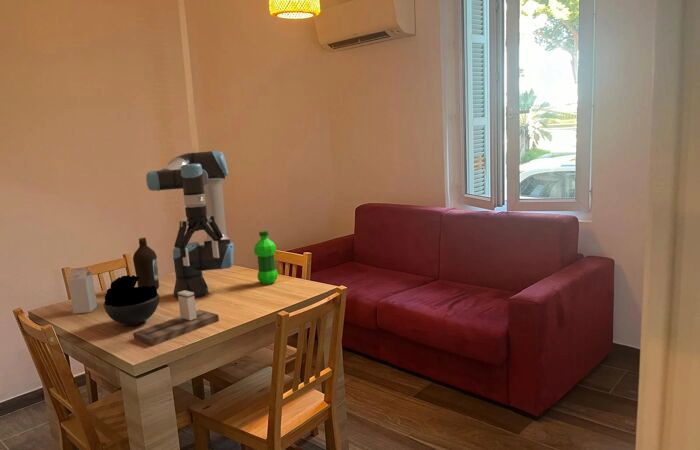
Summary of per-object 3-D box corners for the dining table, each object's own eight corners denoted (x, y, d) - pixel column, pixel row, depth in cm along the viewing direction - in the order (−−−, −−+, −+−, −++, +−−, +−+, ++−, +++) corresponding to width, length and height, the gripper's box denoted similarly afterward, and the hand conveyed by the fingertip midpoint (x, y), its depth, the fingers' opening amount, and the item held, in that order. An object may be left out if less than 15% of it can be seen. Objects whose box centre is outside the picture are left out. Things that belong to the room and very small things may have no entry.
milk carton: (80, 308, 225) (73, 266, 222) (97, 307, 225) (90, 265, 222) (73, 314, 218) (66, 270, 215) (90, 312, 218) (83, 269, 215)
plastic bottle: (261, 279, 253) (257, 229, 249) (282, 279, 251) (277, 229, 247) (254, 285, 244) (249, 233, 240) (275, 285, 242) (270, 233, 237)
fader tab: (189, 320, 191) (186, 294, 190) (180, 317, 195) (177, 292, 194) (197, 318, 194) (194, 292, 192) (187, 315, 198) (184, 290, 196)
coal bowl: (142, 311, 215) (136, 268, 212) (172, 319, 204) (166, 273, 200) (96, 327, 199) (89, 280, 196) (125, 336, 188) (118, 286, 184)
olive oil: (135, 293, 244) (128, 241, 240) (139, 287, 255) (132, 237, 250) (158, 290, 247) (152, 239, 242) (161, 284, 257) (155, 235, 253)
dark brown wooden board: (151, 346, 177) (150, 339, 176) (134, 339, 184) (133, 332, 184) (218, 320, 198) (218, 314, 198) (200, 315, 206) (199, 309, 205)
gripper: (172, 211, 179) (179, 270, 183) (228, 201, 199) (234, 255, 202) (159, 210, 184) (167, 268, 187) (216, 201, 203) (221, 253, 207)
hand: (201, 261), depth 195 cm, fingers open, 13 cm apart
